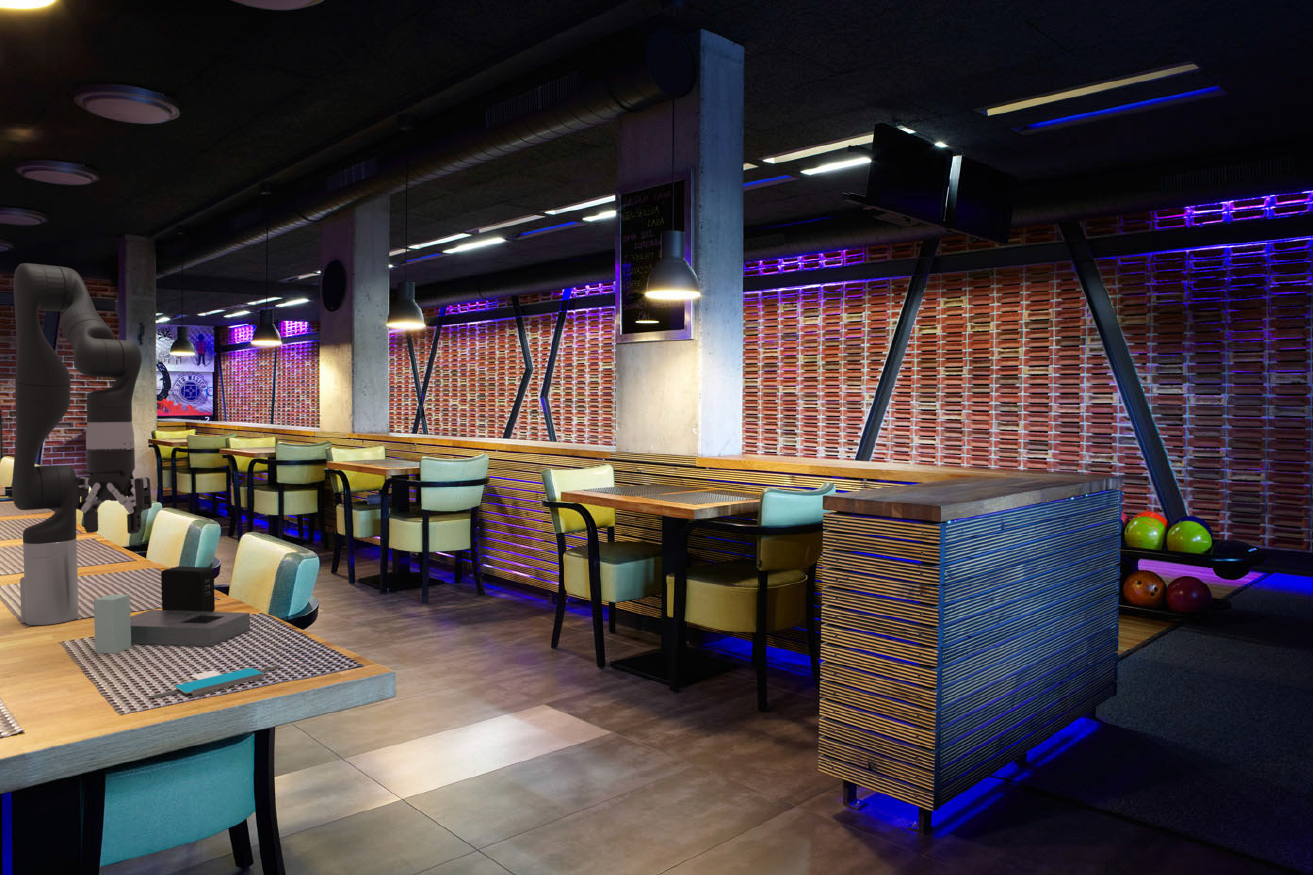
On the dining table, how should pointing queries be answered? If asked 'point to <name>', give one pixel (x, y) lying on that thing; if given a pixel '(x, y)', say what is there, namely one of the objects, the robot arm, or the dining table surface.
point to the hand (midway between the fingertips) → (112, 532)
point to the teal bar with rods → (216, 681)
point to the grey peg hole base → (187, 627)
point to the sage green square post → (112, 623)
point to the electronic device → (188, 589)
